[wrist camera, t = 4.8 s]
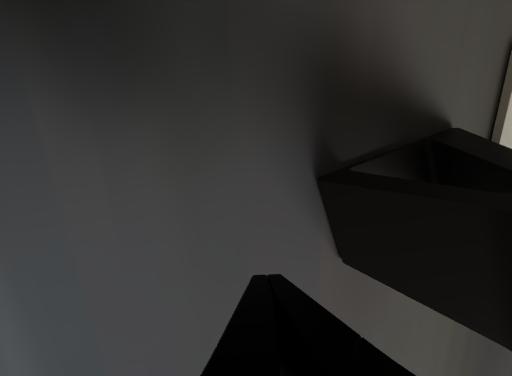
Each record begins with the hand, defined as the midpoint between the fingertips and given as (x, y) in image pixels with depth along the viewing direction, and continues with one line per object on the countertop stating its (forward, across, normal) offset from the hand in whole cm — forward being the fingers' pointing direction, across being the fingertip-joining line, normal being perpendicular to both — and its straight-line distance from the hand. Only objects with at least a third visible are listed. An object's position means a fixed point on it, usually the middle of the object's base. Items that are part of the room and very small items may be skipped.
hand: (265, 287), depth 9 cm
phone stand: (+9, -10, 0) cm, 13 cm away
